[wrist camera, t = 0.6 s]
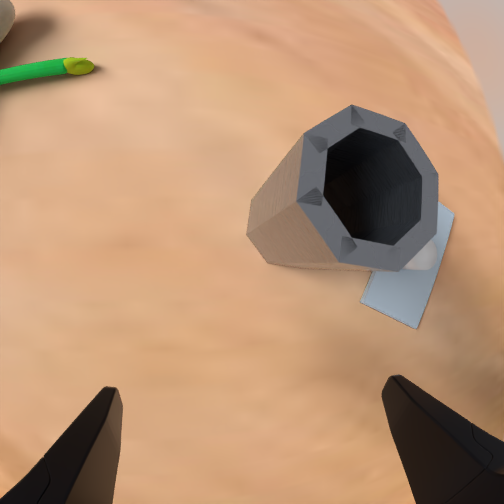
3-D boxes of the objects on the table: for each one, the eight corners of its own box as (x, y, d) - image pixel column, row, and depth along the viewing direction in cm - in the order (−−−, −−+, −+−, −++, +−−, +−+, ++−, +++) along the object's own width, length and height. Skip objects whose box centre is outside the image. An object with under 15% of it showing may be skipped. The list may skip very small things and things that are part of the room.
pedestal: (412, 328, 25) (436, 334, 21) (359, 302, 24) (381, 307, 21) (450, 214, 26) (475, 209, 22) (404, 181, 25) (427, 171, 22)
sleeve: (323, 271, 24) (432, 277, 11) (242, 259, 23) (289, 254, 10) (332, 192, 24) (437, 136, 12) (255, 176, 23) (308, 92, 11)
